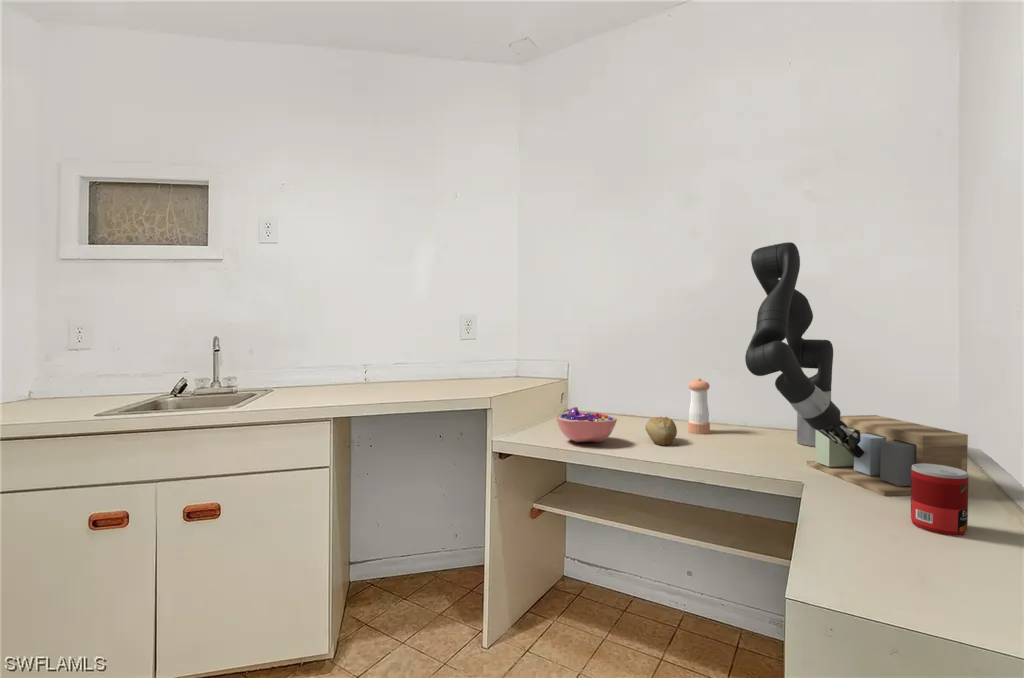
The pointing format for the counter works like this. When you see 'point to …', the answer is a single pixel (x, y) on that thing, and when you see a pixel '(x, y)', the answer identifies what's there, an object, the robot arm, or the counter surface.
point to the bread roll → (661, 430)
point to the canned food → (939, 499)
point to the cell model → (585, 426)
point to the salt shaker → (699, 408)
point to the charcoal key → (897, 462)
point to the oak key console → (928, 441)
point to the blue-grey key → (869, 454)
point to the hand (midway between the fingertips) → (859, 454)
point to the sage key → (832, 452)
